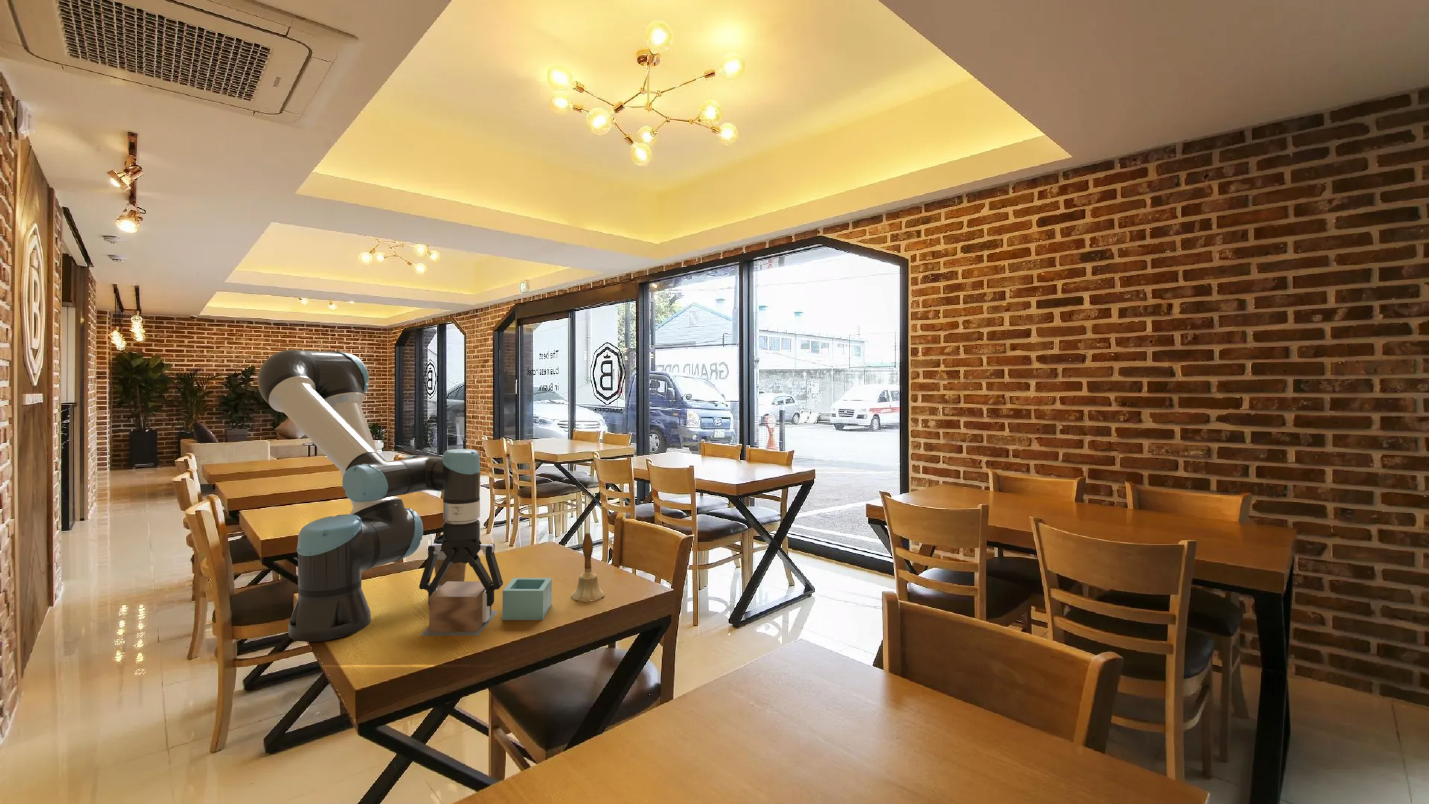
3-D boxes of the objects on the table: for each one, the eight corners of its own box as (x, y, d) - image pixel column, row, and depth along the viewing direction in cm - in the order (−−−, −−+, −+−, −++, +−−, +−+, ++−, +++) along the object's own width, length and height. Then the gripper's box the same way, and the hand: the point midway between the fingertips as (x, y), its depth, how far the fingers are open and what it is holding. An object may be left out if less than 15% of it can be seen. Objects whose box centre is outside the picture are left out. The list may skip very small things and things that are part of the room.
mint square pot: (502, 621, 140) (502, 590, 140) (513, 606, 149) (513, 577, 149) (543, 621, 141) (543, 590, 140) (551, 606, 150) (551, 577, 149)
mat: (420, 637, 131) (420, 635, 131) (445, 612, 145) (445, 610, 145) (478, 637, 132) (478, 635, 132) (498, 612, 146) (498, 610, 146)
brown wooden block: (429, 631, 133) (429, 596, 133) (446, 613, 143) (447, 581, 143) (476, 631, 134) (477, 596, 133) (491, 613, 144) (491, 581, 143)
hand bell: (586, 604, 152) (587, 539, 151) (564, 596, 157) (564, 533, 156) (611, 595, 158) (612, 533, 158) (589, 588, 163) (590, 527, 163)
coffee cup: (474, 590, 160) (474, 532, 159) (457, 602, 151) (458, 541, 151) (443, 589, 161) (443, 531, 160) (424, 600, 152) (424, 539, 152)
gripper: (401, 523, 133) (401, 626, 134) (509, 524, 134) (508, 626, 135) (416, 516, 141) (416, 613, 142) (518, 516, 142) (517, 613, 143)
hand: (461, 620), depth 138 cm, fingers closed on brown wooden block, 10 cm apart
